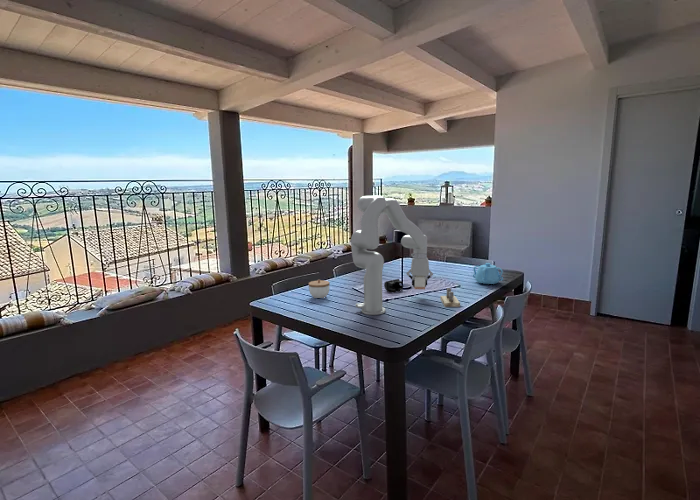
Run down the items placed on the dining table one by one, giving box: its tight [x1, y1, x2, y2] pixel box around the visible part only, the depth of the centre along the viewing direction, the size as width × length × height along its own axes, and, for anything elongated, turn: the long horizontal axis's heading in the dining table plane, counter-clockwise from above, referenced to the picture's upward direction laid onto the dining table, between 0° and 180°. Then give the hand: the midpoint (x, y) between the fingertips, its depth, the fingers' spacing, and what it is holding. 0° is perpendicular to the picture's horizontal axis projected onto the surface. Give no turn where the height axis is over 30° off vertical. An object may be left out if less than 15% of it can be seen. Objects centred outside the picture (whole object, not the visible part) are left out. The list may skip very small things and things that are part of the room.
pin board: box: [440, 287, 461, 308], centre depth 201 cm, size 8×14×7 cm, turn 175°
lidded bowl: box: [308, 279, 331, 299], centre depth 219 cm, size 13×13×11 cm
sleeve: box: [413, 276, 426, 290], centre depth 212 cm, size 6×6×7 cm
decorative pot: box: [472, 262, 504, 285], centre depth 242 cm, size 16×16×14 cm
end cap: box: [383, 278, 404, 293], centre depth 231 cm, size 10×7×7 cm
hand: (419, 286), depth 213 cm, fingers closed on sleeve, 6 cm apart
